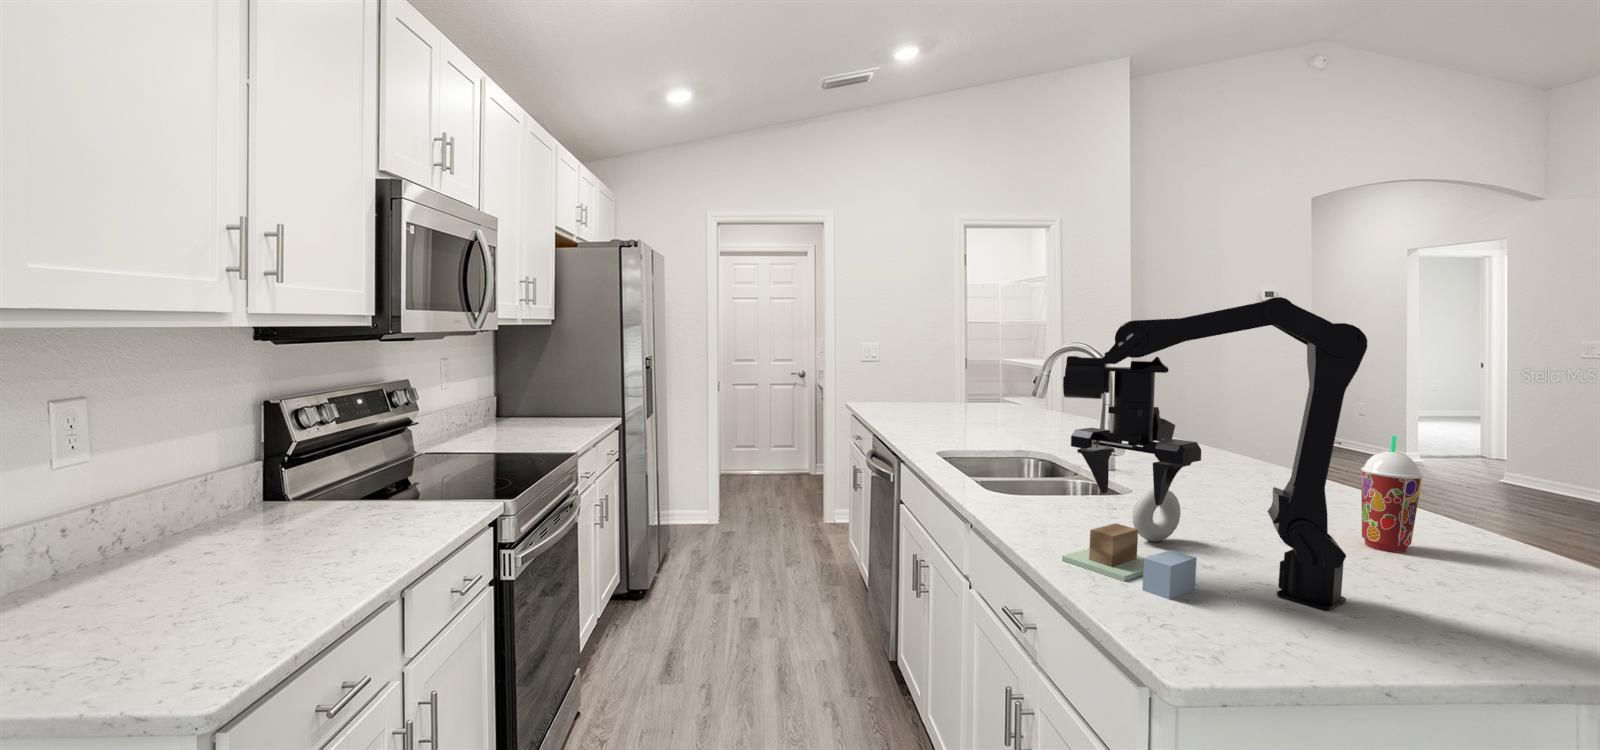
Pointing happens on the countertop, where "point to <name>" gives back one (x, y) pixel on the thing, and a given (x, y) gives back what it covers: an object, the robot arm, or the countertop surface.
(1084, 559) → the baseplate
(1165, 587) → the slate brick
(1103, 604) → the countertop surface
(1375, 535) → the smoothie
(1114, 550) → the walnut brick
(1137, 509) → the donut
